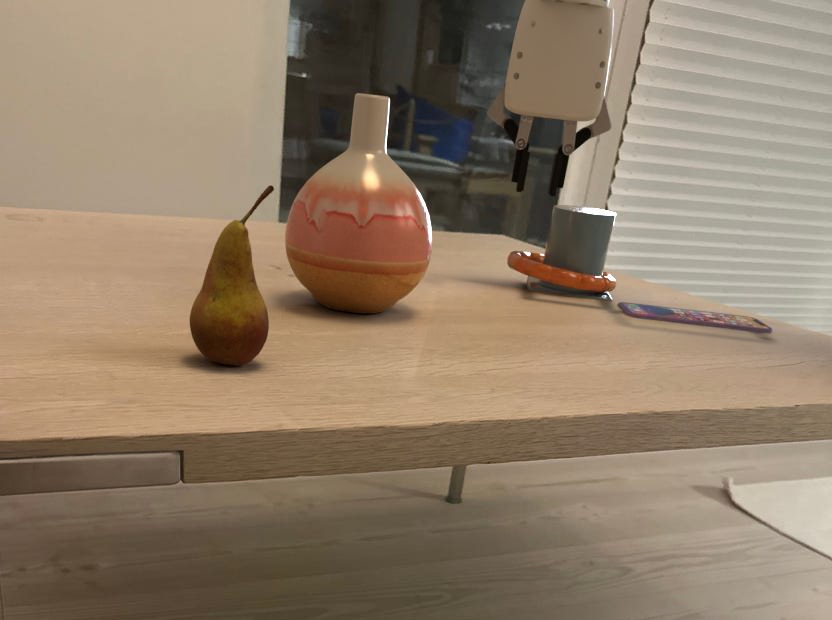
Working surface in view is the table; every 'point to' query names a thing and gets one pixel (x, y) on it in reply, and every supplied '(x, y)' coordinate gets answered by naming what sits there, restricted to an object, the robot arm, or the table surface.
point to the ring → (558, 273)
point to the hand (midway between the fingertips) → (535, 191)
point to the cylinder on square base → (576, 247)
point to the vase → (360, 222)
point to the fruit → (231, 300)
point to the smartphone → (694, 317)
